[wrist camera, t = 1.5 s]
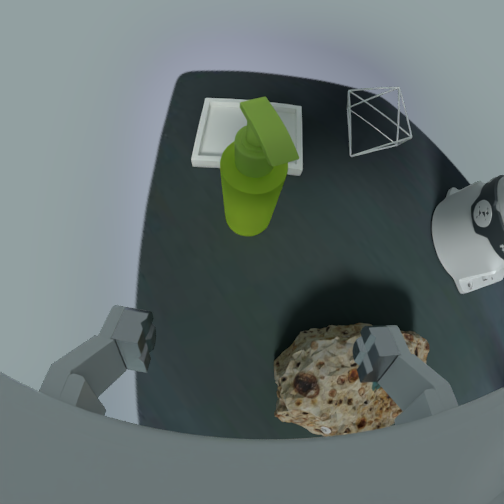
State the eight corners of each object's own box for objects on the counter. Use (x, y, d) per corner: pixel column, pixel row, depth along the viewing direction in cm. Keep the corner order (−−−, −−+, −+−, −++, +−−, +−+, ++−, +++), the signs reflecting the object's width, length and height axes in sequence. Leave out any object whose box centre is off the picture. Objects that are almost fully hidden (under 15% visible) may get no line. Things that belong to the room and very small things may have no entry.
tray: (299, 113, 40) (301, 106, 38) (299, 175, 37) (302, 169, 35) (206, 105, 39) (205, 97, 37) (192, 166, 36) (191, 160, 35)
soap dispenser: (238, 250, 34) (240, 173, 15) (218, 202, 36) (203, 93, 16) (280, 234, 35) (329, 147, 16) (260, 188, 36) (282, 76, 17)
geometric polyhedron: (377, 179, 38) (406, 149, 29) (321, 136, 39) (339, 98, 30) (401, 137, 41) (426, 108, 32) (353, 100, 41) (371, 67, 33)
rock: (406, 313, 35) (453, 330, 25) (385, 399, 35) (420, 429, 25) (272, 313, 32) (298, 342, 22) (259, 413, 32) (275, 461, 22)
